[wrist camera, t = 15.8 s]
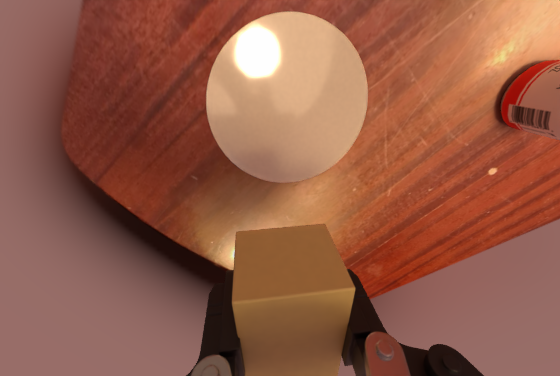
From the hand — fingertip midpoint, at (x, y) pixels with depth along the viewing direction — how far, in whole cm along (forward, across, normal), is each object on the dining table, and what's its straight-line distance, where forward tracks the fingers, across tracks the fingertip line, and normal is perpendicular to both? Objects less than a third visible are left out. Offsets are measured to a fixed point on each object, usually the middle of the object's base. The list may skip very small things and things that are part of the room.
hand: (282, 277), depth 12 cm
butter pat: (0, 0, 0) cm, 0 cm away
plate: (+14, -2, -5) cm, 15 cm away
